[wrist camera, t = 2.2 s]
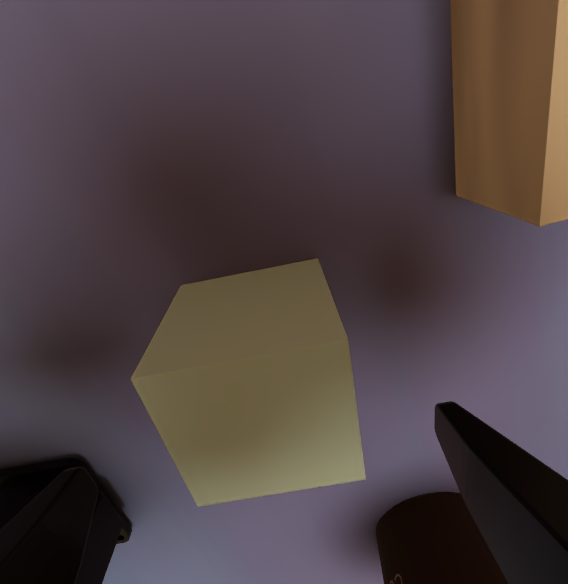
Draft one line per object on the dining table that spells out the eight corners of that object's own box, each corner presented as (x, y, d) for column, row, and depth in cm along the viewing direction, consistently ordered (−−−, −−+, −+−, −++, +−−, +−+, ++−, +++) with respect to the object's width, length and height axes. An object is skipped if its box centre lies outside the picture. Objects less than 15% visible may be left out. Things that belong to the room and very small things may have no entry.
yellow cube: (219, 387, 14) (198, 506, 10) (181, 284, 12) (130, 379, 8) (334, 366, 14) (365, 479, 10) (317, 257, 12) (347, 339, 7)
